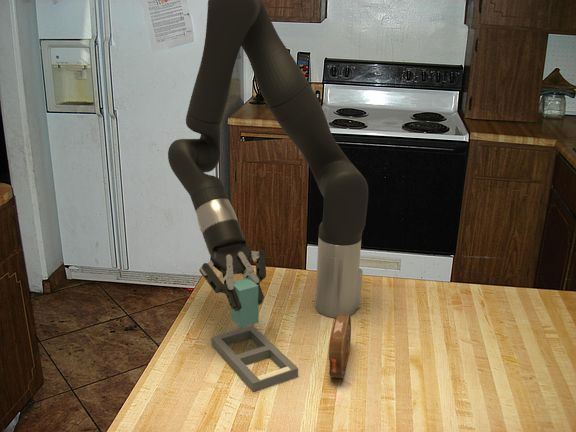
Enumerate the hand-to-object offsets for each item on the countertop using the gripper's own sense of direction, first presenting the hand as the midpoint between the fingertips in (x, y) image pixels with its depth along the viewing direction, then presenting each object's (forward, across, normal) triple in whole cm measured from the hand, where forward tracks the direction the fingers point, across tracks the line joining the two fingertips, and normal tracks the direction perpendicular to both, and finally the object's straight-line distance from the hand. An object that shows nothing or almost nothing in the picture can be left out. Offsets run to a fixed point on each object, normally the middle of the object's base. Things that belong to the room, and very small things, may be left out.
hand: (249, 306), depth 121 cm
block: (+2, 0, +4) cm, 5 cm away
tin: (+16, +14, 0) cm, 21 cm away
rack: (+9, 0, +6) cm, 11 cm away
